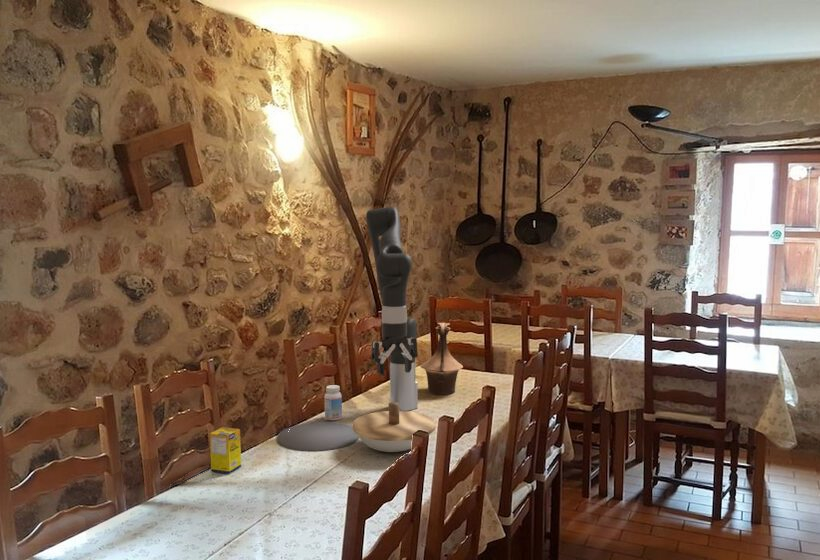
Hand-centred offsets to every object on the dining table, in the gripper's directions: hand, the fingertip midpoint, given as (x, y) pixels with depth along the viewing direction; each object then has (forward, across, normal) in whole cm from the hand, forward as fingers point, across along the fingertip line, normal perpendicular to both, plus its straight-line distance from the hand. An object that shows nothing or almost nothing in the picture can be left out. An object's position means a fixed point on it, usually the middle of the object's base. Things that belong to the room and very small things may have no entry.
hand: (394, 373), depth 198 cm
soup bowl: (+23, +1, 0) cm, 23 cm away
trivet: (+23, +17, -20) cm, 35 cm away
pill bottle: (+23, +6, -36) cm, 43 cm away
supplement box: (+23, +49, -6) cm, 55 cm away
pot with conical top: (+24, -45, -49) cm, 70 cm away
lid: (+16, 0, 0) cm, 16 cm away
